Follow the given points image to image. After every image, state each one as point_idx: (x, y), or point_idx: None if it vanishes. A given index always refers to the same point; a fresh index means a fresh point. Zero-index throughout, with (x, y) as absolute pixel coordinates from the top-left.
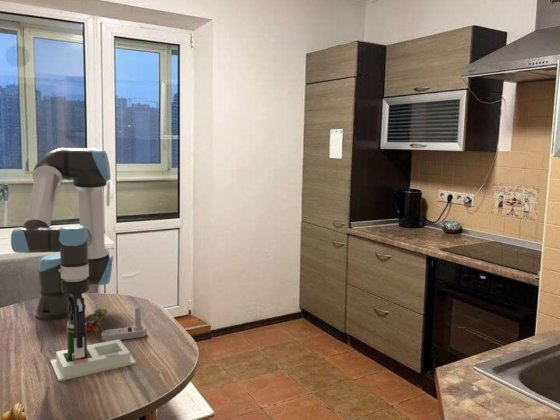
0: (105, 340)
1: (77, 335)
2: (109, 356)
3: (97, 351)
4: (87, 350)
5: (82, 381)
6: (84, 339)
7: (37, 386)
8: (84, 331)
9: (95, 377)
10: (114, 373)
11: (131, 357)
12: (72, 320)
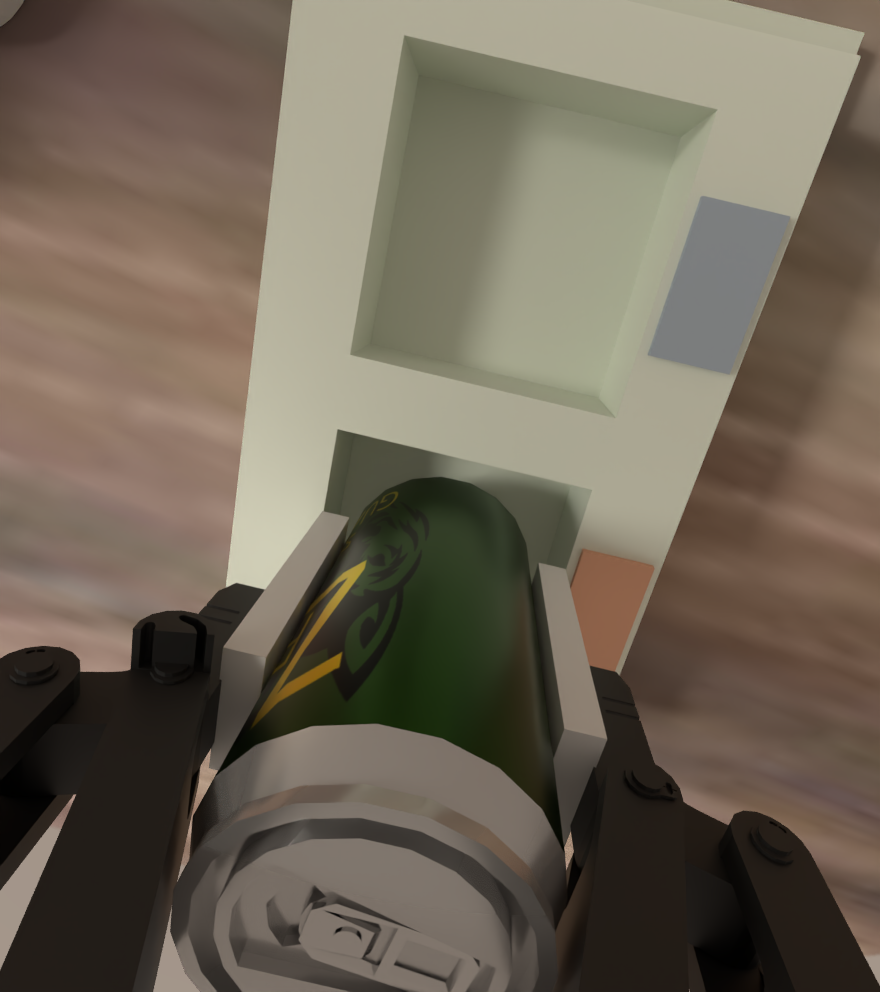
0: (9, 15)
1: (760, 969)
2: (739, 345)
3: (369, 310)
4: (356, 429)
5: (732, 618)
6: (529, 645)
7: None
8: (836, 937)
9: (758, 518)
10: (838, 357)
11: (711, 15)
12: (227, 963)
